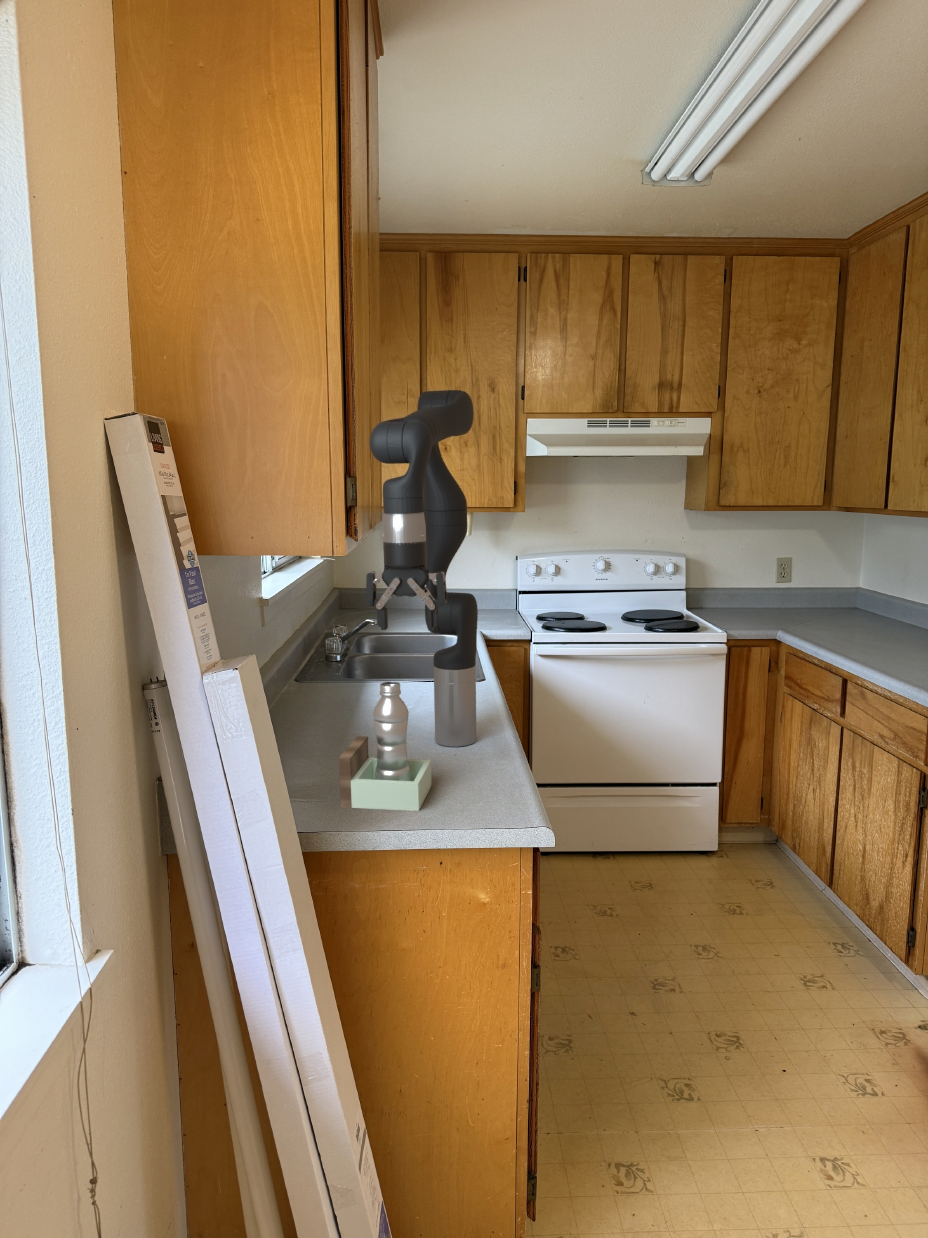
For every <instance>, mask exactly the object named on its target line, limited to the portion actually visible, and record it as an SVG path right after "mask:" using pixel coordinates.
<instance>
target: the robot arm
mask: <svg viewBox="0 0 928 1238" xmlns="http://www.w3.org/2000/svg"><path fill="white" fill-rule="evenodd" d="M473 422H474V403H473V401H472V398H471V396H470V394H469V393H467V392H466V391H465V390H461V389H446V390H445V389H444V390H426V391H422V393H420V395H419V397H418V401H417V409H416V410H415V411H413V412H411V413H409V414H408V415H406V416H404V417H399V418H393V419H392V418H391V419H387V420H383V421H380V422H379V423H378V424H376V425H375V426H374V428H373V429H372V430H371V433H370V436H369V449H370V452H371V454H372V456H373V457H374V458H375V459H376V460H377V461H378V462H380V463H382V464H388V465H389V464H390V465H395V464H399V465H400V464H401V465H402V464H409V465H408V468H407V470H406V472H405V473H404V474H403V475H400V476H398V477H393V478H389V479H386V480H385V481H384V482H383V483H382V484H383V485H382V506H383V517H382V518H383V519H382V535H381V536H382V537H381V538H382V541H383V542H382V545H383V546H382V547H383V572H376V571H375V570H371V571H369V572H368V573H367V574H366V579H365V580H366V582H365V583H366V584H365V585H366V586H365V587H366V589H365V604H366V606H369V607H370V606H371V607H373V608H375V609H376V612H377V613H376V615H377V626H378V627H379V628H380V629H381V631H386V630H388V628H389V623H388V621H389V619H388V607H386V606H387V604H388V603H389V601H390V600H391V599H392V597H393V596H395V597H397V598H398V597H399V598H401V597H405V596H406V597H409V598H411V597H412V598H414V597H416V596H417V597H418V598H419V599H420V600H421V601H422V602H423V603H424V620H425V624H426V627H427V631H429V632H430V633H432V634H437V635H447V636H449V635H451V636H457V637H456V642H455V643H454V644H453V645H451V646H448V647H445V648H441V649H439V650H437V651H435V653H434V654H433V687H434V688H433V690H434V691H433V695H434V697H433V698H434V699H433V700H434V702H433V703H434V742H435V743H437V744H438V745H440V746H444V747H450V748H451V747H457V748H458V747H465V746H466V747H467V746H470V745H472V744H474V743H476V741H477V685H476V684H477V683H476V682H477V676H476V675H477V673H476V672H477V671H476V670H477V669H476V667H477V666H476V664H477V663H476V659H477V658H476V657H477V645H478V643H477V641H478V639H477V638H478V620H479V619H478V617H479V616H478V615H479V614H478V613H479V609H478V602H477V598H476V597H475V595H474V594H472V593H468V592H451V591H449V592H448V591H447V581H446V580H447V579H446V578H447V572H448V570H449V568H450V565H451V563H452V561H453V560H454V558H455V556H456V554H457V552H458V551H459V550H460V547H461V546H462V545H463V543H464V541H465V538H466V535H467V534H468V526H469V525H468V501H467V498H466V496H465V493H464V491H463V489H462V488H461V487H460V485H459V482H457V479H456V478H455V477H454V476H453V475H452V473H451V471H450V469H449V468H448V466H447V465H446V462H445V461H444V459H443V455H442V452H441V449H440V444H439V442H441V441H443V440H446V439H448V438H451V437H459V436H463V435H466V434H468V433H469V431H470V430H471V429H472V427H473ZM381 579H382V581H383V583H384V584H385V585H386V586H387V588H386V590H385V591H384V593H383V594H382V595H381V597H380V599H379V598H377V585H378V584H379V583H380V582H381V581H380V580H381Z"/></svg>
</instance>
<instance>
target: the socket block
mask: <svg viewBox="0 0 928 1238" xmlns="http://www.w3.org/2000/svg"><path fill="white" fill-rule="evenodd" d="M407 759H408V765H409V770H410V776H411V777H410V781H393V780H375V771H376V766H377V757H369V758H368V759H367V760H366V762H365V763H364V764H363V765H362V767H361V768H360V769H359V771H358V772H357V773H356V775H355V776H354V777H353V778H352V780H351V801H352V808H351V809H353V808H354V809H368V810H369V809H370V810H387V811H389V810H392V811H408V812H409V811H411V812H419V811H420V810H421V807H422V805H423V803H424V801H425V799H426V797H427V795H428V793H429V792H430V789H431V787H432V759H419V758H418V759H415V758H407Z"/></svg>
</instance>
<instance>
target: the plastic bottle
mask: <svg viewBox="0 0 928 1238" xmlns="http://www.w3.org/2000/svg"><path fill="white" fill-rule="evenodd" d="M401 694H402V691H401V683H400V681H399V682H398V681H393V680H392V681H383V682H381V683H380V685H379V696H381V697H380V698H379V700H378V702H377V703H376V705H375V706H374V708H373V711H372V717H373V722H374V727H375V728H374V729H375V734H376V746H377V747H376V748H377V751H376V753H377V754H376V758H377V766H376V771H375V780H393V781H410V777H411V776H410V770H409V765H408V759H409V758H408V751H407V735H408V734H407V731H408V723H409V709H408V705H406V703H405V702H404V700H403V699H402V698H401V696H400V695H401Z"/></svg>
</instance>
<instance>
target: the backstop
mask: <svg viewBox="0 0 928 1238" xmlns="http://www.w3.org/2000/svg"><path fill="white" fill-rule="evenodd" d="M369 755H370V754H369V736H361V735H360V736H359V735H358V736H356V737H355V739H354V740H353V741H351V743H350V744H349V746H348V747H346V749H345V750H344V751H343V752H342V754H341V755H340V756H339V757H338V769H339V772H338V773H339V775H338V776H339V794H340V796H339V797H340V808H344V809H347V808H348V809H353V808H352V801H351V780H352V778H353V777H354V776H355V775H356V773H357V772H358V771H359V769H360V768H361V767H362V765H363V764H364V763H365V762H366V760H367V759H368V758H370V756H369Z"/></svg>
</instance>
